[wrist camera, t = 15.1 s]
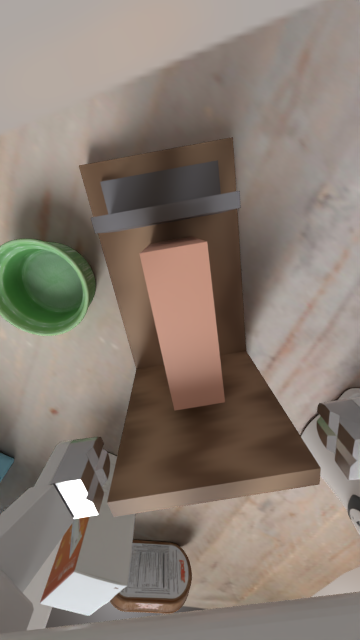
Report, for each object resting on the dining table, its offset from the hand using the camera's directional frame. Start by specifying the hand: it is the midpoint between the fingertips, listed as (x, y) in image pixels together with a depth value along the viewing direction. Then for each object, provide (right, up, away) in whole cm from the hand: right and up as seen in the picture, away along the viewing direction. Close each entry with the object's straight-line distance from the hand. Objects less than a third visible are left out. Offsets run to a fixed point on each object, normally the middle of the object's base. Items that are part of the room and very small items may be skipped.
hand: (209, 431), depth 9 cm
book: (-1, +6, +15) cm, 17 cm away
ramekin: (-14, +8, +16) cm, 23 cm away
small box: (-12, -20, +28) cm, 36 cm away
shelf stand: (-1, +7, +17) cm, 19 cm away
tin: (-7, -39, +36) cm, 53 cm away
